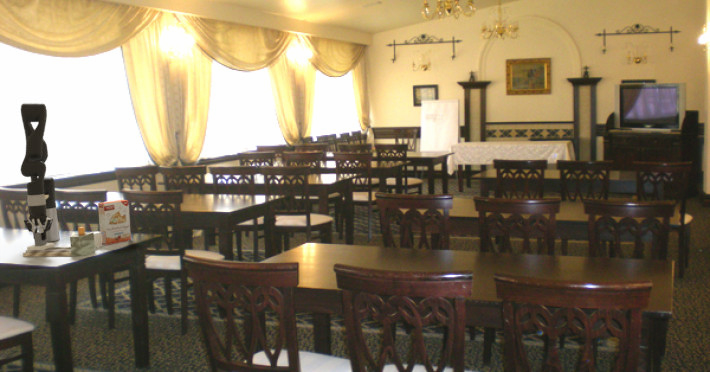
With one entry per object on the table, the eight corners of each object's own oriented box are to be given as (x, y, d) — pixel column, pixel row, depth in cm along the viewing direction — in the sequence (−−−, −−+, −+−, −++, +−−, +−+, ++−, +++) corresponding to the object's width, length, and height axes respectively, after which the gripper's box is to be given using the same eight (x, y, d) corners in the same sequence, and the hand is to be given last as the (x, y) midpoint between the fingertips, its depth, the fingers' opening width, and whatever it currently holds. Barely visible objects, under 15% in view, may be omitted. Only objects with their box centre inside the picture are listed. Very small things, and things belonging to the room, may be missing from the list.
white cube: (97, 244, 322) (96, 230, 321) (105, 245, 317) (104, 231, 317) (84, 247, 316) (83, 233, 316) (92, 248, 312) (90, 234, 311)
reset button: (81, 237, 301) (80, 227, 301) (86, 237, 301) (85, 227, 301) (77, 238, 299) (76, 228, 298) (83, 238, 298) (82, 228, 298)
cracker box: (107, 245, 319) (103, 203, 316) (100, 244, 322) (97, 202, 320) (131, 240, 330) (128, 199, 327) (125, 239, 333) (122, 199, 331)
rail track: (23, 256, 299) (21, 237, 298) (36, 251, 309) (34, 233, 308) (83, 255, 295) (82, 236, 294) (95, 251, 305) (93, 232, 304)
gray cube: (27, 250, 299) (25, 234, 298) (38, 246, 308) (37, 230, 307) (43, 250, 298) (41, 234, 297) (54, 246, 307) (53, 230, 306)
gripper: (55, 202, 303) (58, 238, 305) (27, 203, 305) (31, 238, 307) (46, 204, 296) (49, 241, 298) (17, 205, 298) (21, 242, 300)
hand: (40, 240), depth 302 cm, fingers closed on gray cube, 3 cm apart
